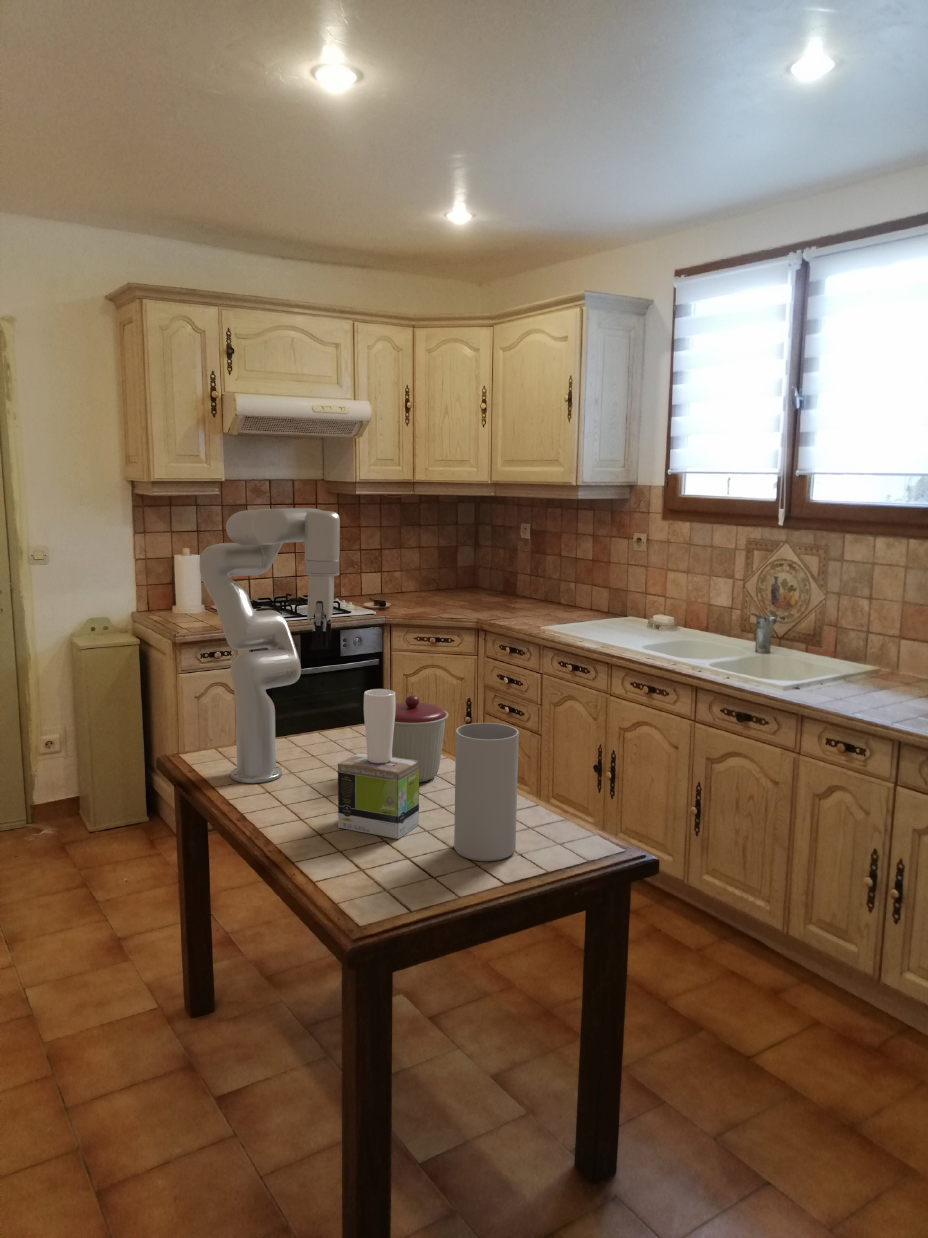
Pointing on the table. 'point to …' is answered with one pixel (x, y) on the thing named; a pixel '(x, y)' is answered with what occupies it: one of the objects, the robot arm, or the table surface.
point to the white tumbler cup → (379, 724)
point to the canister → (419, 735)
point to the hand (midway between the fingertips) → (321, 644)
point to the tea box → (378, 796)
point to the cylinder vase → (486, 791)
